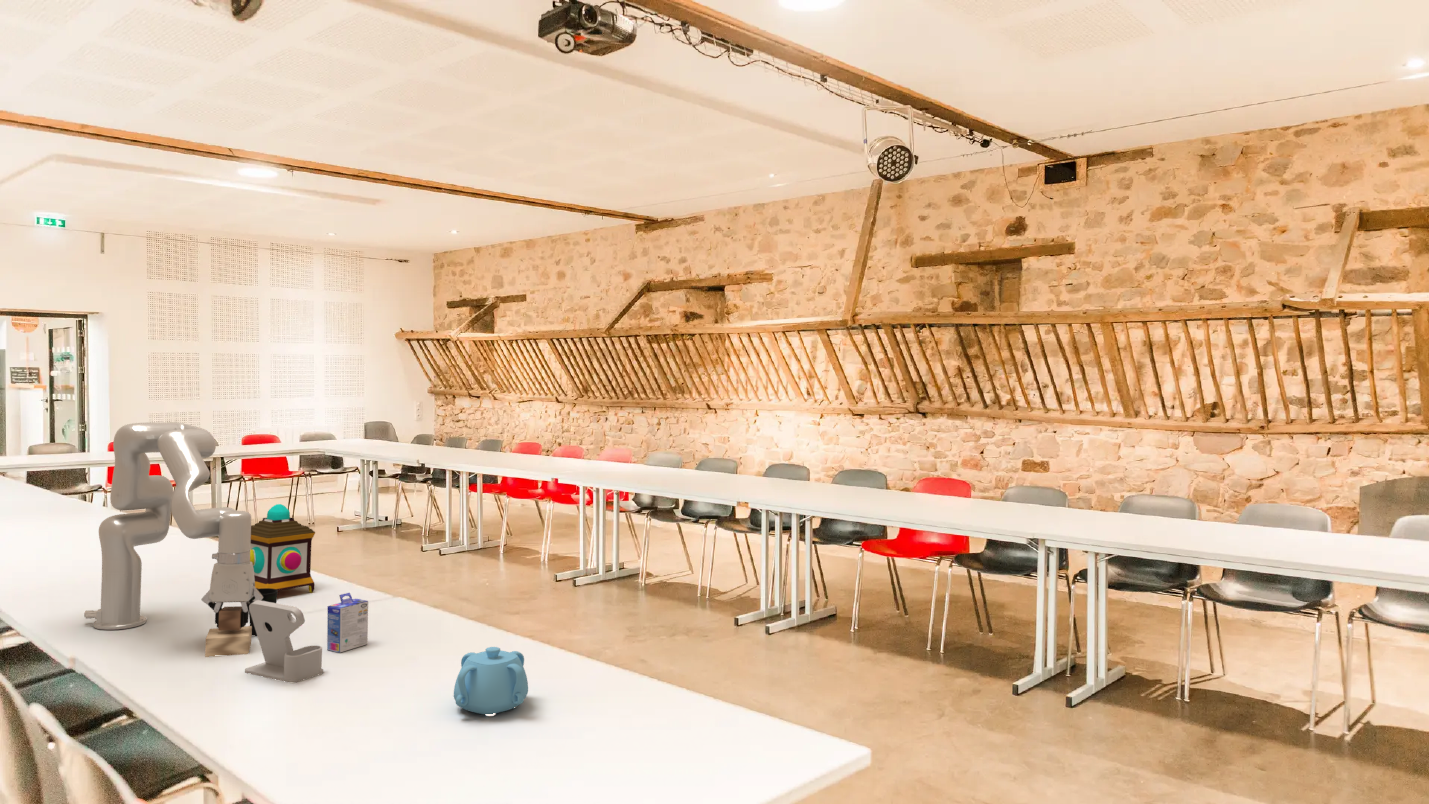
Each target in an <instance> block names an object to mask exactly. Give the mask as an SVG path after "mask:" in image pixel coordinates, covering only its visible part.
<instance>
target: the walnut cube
mask: <svg viewBox="0 0 1429 804" xmlns="http://www.w3.org/2000/svg"><path fill="white" fill-rule="evenodd" d="M242 610H243V609H242V605H240V606H224V607H222V609H221V610H220V611H219V626H218V630H240V629H241V628H242V627H241V612H242Z"/></svg>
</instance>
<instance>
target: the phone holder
mask: <svg viewBox="0 0 1429 804" xmlns="http://www.w3.org/2000/svg"><path fill="white" fill-rule="evenodd" d="M249 610H250V613H251V617H252V620H253V623H254V627H255V630H256V633H257V636H256V637H257V638H258V639H257V640H258V642H259V643H258V644H259V645H260V649H261V651H262V652H261V653H262V656H263V659H264V661H265V662H262V663H258V664H255V665H252V666H249V667H246V668H245V669H244V673H246V674H248V673H251V674H250V675H253V676H258V677H261V676H263V677H262V678H267V679H271V680H275V679H276V681H278V682H279V681H280V682H284V681H285V683H288V682H296V683H298V682H302V681H304V680H303V679H305V680H308V679H310V678H309V677H311V678H313V677H315V676H319V675H321V673H322V674H324V668H323V667H322V663H323V659H322V658H323V647H322V646H320V645H307V646H304V647H300V648H298V649H294V648H293V644H292V641H291V638H290V636H291V634H293V633H294V632H295V631H296V630H298V629H299V628H300V627H302V626H303V624H305V621H306V620H305V616H304V614H303V613H304V612H302V610H301V609H300V608H298V607H297V606H293V605H288V604H283V603H282V604H281V603H277V602H276V603H272V602H266V601H260V600H256V601H255V602H253V603H251V604H250V605H249ZM293 616H294V617H293ZM265 622H267V623H269V624H270V625H271V627H272V632H269V631H268V629H267V628H266V626H265ZM318 674H319V675H318ZM312 676H313V677H312ZM307 678H308V679H307ZM301 680H302V681H301Z"/></svg>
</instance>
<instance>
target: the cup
mask: <svg viewBox="0 0 1429 804" xmlns="http://www.w3.org/2000/svg"><path fill="white" fill-rule="evenodd" d="M257 590H258V591H259V592H260V594H261V595H262V596H263V599H262V600H261V601H266V602H272V603H277V601H278V595H279V594H278V593H279V591H278V590H277V589H272V588H261V589H257ZM254 599H255V596H253V597H252V598H251V599H250V600H249V603H250V602H251V601H253V600H254ZM248 620H249V626H252V635H255V636H254V637H258V636H257V633H256V630H255V627H254V623H253V620H252V617H251V613H250V610H249V618H248ZM265 626H266V628H267V629H268V631H269V632H272V627H271V625H270V624H269V623H267V622H265Z"/></svg>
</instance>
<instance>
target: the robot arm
mask: <svg viewBox="0 0 1429 804" xmlns="http://www.w3.org/2000/svg"><path fill="white" fill-rule="evenodd" d="M112 446H113V454H114V467H113V473H112V480H111V489H110V497H109V499H110V504H111V507H113V508H114V509H115V510H116V511H123V512H124V511H137V510H144V511H141V512H140V511H139V512H129V513H121V514H114V515H111V516H109V517H107V518H105V519H104V520H102V521H101V523H100V525H99V526H98V538H99V543H100V548H101V549H100V550H101V586H100V587H101V588H100V590H101V591H100V592H101V593H100V608H99V609H97V610H85V611H84V613H83V614H84V615H83V616H84V618H85V619H95V621H94V622H93V626H92V627H93V628H95V629H98V630H104V631H105V630H106V631H110V630H111V631H112V630H124V629H130V628H136V627H139V626H142V625H144V624H145V623H146V622H147V617H146V616H145V615H141V602H142V601H141V596H142V594H141V593H142V570H143V569H142V565H143V562H142V559H141V557H140V555H139V554H138V552H137V551H136V549H135V547H137V546H143V545H151V544H157V543H160V542H161V541H164V539H165V538H166V537H167V536H168V533H169V529H170V526H171V525H170V524H171V523H170V522H171V517H173V520H174V521H175V523H176V525H177V527H178V529H179V530H180V532H181V533H182V534H183V535H184V536H186V537H187V538H189V539H190V540H191V539H192V540H195V539H205V538H211V537H218V545H217V547H218V548H217V550H218V551H217V552H216V553H212V555H211V559H212V560H213V559H214V560H216V562H215V563H214V564H213V567H212V573H211V577H210V585H209V590H208V591H207V592H206V593H205V594H204V595H203V596H202V598H201V601H202V602H203V603H205V604H206V605H207V606H208V607H209V608H210V609H211V610H212V611H213V612H214V613H215V614H214V615H215V616H214V624H215V625H216V628H218V626H219V611H220V610H221V609H222V608H223V605H224V603H240V604H241V605H240V606H242V609H243V610H242V612H241V627H245V626H246V625H247V624H249V605H250V604H251V603H253V602H255V601H256V600H260V601H261V600H262V599H263V596H262V595H261V594H260V592H259V591H258V590H257V589H256V588H255V577H254V568H253V563H252V562H250V543H251V526H252V515H251V513H250V512H249V511H246V510H237V509H234V508H231V507H227V506H225V507H224V506H222V507H212V508H211V507H210V508H203V509H196V508H195V507H194V504H193V503H192V500H191V498H190V492H191V491H194V490H195V489H197V488H200V487H201V486H202V485H204V484H205V483H206V482H207V481H208V480H209V478H210V476H211V473H210V472H211V471H210V470H209V468H208V466H207V464H206V462H205V461H204V459H208V458H210V457H212V456H213V455H214V453H215V451H216V447H217V445H216V439H215V437H214V436H213V435H212V433H211V432H210V431H208V430H207V429H205V428H202V427H198V426H193V425H192V424H188V423H184V422H177V421H176V422H169V421H168V422H167V421H166V422H133V423H129V424H124V425H122V426H121V427H119V428H118V429H117V431H116V433H115V434H114V437H113V445H112ZM147 453H149V454H150V453H151V454H152V453H160V455H161V457H162V459H163V461H164V463H165V465H166V467H167V469H168V472H169V473H170V475H171V477H172V479H173V481H174V484H175V488H174V487H173V484H172V482H171V480H170V479H169V478H168V477H167V476H164V475H158V474H157V475H155V474H154V475H150V470H151V462H150V459H149V457H148V455H147ZM253 596H255V599H254V600H253V601H251V602H250V603H249V600H250V599H251V598H252V597H253Z"/></svg>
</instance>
